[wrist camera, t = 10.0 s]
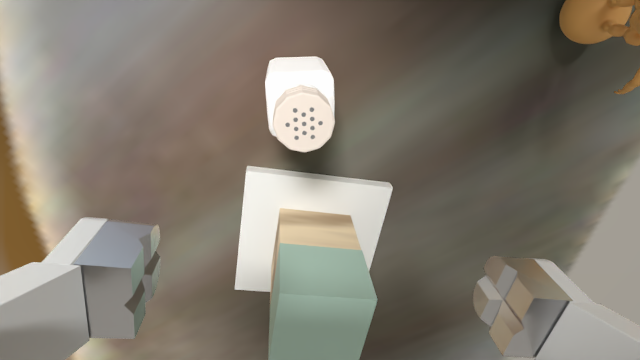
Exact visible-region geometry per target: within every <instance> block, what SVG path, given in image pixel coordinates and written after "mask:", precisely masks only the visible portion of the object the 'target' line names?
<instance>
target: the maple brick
mask: <svg viewBox="0 0 640 360" xmlns="http://www.w3.org/2000/svg"><path fill="white" fill-rule="evenodd" d="M280 243H284V244H296V245H307V246H319V247H330V248H342V249H353V250H361V247H360V244H359V241H358V238H357V235H356V231H355V228H354V225H353V222H352V219H351V215H343V214H333V213H323V212H314V211H304V210H294V209H284V208H280V211H279V218H278V224H277V231H276V238H275V245H274V252H273V259H272V265H271V291H270V304H271V298H272V291H273V285H274V278H275V272H276V265H277V259H278V252H279V245H280Z"/></svg>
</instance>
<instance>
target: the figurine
mask: <svg viewBox="0 0 640 360" xmlns="http://www.w3.org/2000/svg"><path fill="white" fill-rule="evenodd" d="M633 5H635V8H636V10H635V11H634V13H633V14H632V15H631V17H630V14H631V11H632V6H633ZM629 17H630V19H629ZM628 19H629V23H630V27H629V28H628V27H627V26H625V24H626V22H627V21H628ZM559 22H560V27H561V30H562V32H563V33H564V34H565V36H566V37H568V38H569V39H570V40H572V41H574V42H577V43H581V44H593V43H598V42H601V41H604V40H606V39H608V38H610V37H612V36H615V37H621V36H623V37H624V39H625V41H626V43H628V44H631V45H635V46H638V45H640V0H566V1H565V2H564V4H563V6H562V8H561V11H560V16H559ZM638 86H640V68H639V69H638V71H637V73H636V74H635V76H634V78H633V80H631V81H629V82H628V83H627V84H626V85H625V86H624V87H623V89H622V90H618V92H616V91H614V93H616V94H625V93H627V92H630V91H632V90H633V89H634V88H635V87H638Z"/></svg>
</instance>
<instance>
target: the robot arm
mask: <svg viewBox="0 0 640 360" xmlns="http://www.w3.org/2000/svg"><path fill="white" fill-rule="evenodd" d="M159 242H160V228H159V226H158V225H157V224H149V223H140V222H131V221H122V220H113V219H111V220H109V219H104V218H92V217H85V218H81V219H80V220H79V221H78V222H77V223H76V225H75V226H74V227H73V228H72V229H71V230H70V231H69V232H68V233H67V235H66V236H65V237H64V238H63V239H62V240H61V241H60V242H59V243H58V245H57V246H56V247H55V248H54V249H53V250H52V251H51V252H50V253H49V255H48V256H47V257H46V258H45V259H44V260H43V261H42V262H41V263H36V262H32V263H30V264H27V265H25V266H23V267H20V268H18V269H16V270H13V271H11V272H8V273H6V274H4V275H1V276H0V360H65V359H67V358H68V357H69V356H70V355H72V354H73V353H74V352H75V351H77V350H78V349H79V348H80V347H82V346H83V345H84V344H85V343H87V342H88V341H89V338H124V339H135V337H136V335H137V332H138V330H139V328H140V325H141V323H142V321H143V318H144V316H145V314H146V313H145V303H146V302H147V301H149V300H150V299H152V297H153V295H154V292H155V290H156V287H157V282H158V278H159V272H160V256H159V255H158V253H157V252H156V251H155V250H156V248H157V246H158V244H159ZM483 269H484V272H485V276H484V277H483V278H481V279H480V280H479V281H477V283H476V286H475V288H474V291H473V305H474V308H475V311H476V313H477V314H478V316H479V318H480V319H481V320H482V321H484V322H485V323H486V324H488V325H489V326H490V328H489V334H490V336H491V338H492V339H493V341H494V343H495V344H496V346H497V347H498V349H499V351H500V352H501V354H502V356H514V357H527V358H535V360H640V325H638V324H636V323H634V322H632V321H631V320H629V319H627V318H625V317H624V316H622V315H620V314H618V313H616V312H614V311H613V310H611V309H609V308H607V307H605V306H603V305H602V304H598V303H594V302H593V301H592V300H591V299H590V298H589V297H588V296H587V295H585V293H584V292H583V291H582V290H581V289H580V288H579V287H578V286H577V285H575V283H574V282H573V281H572V280H571V279H570V278H569V277H567V276H566V275H565V274H564V273H563V272H562V271H561V270H560V269H559V268H558V267H557V266H556V265H555V264H554V263H553V262H552V261H549V260H547V259H537V258H516V257H503V256H491V257H490V258H489V259H488V260H487V261H486V263H485V265H484V268H483Z"/></svg>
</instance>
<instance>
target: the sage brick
mask: <svg viewBox="0 0 640 360" xmlns="http://www.w3.org/2000/svg"><path fill="white" fill-rule="evenodd" d="M377 301H378V299H377V296H376V293H375V290H374V287H373V284H372V280H371V277H370V274H369V271H368V268H367V265H366V261H365V258H364V255H363V252H362V250H353V249H342V248H330V247H319V246H307V245H296V244H284V243H280V245H279V252H278V259H277V265H276V272H275V278H274V285H273V291H272V298H271V304H270V324H269V352H268V360H359V359H360V355H361V352H362V349H363V346H364V342H365V339H366V336H367V333H368V330H369V326H370V323H371V320H372V317H373V313H374V310H375V307H376V304H377Z"/></svg>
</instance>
